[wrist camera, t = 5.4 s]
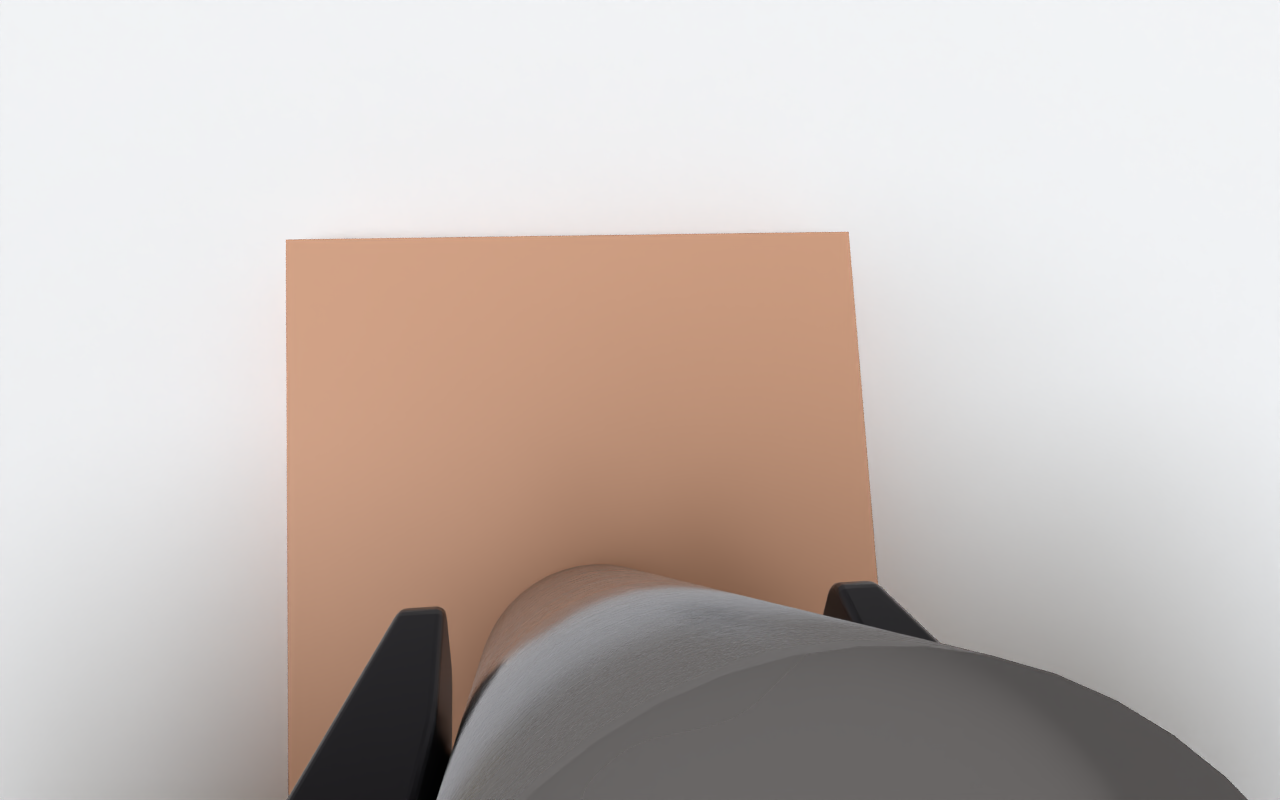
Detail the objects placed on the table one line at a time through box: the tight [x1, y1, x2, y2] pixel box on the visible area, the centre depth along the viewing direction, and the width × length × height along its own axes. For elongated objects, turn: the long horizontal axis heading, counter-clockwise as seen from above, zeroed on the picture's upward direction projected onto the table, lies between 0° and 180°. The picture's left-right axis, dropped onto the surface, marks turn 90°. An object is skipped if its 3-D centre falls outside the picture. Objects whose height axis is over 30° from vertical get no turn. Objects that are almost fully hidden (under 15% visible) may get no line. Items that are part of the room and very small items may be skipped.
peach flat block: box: [286, 232, 878, 796], centre depth 16 cm, size 14×9×2 cm, turn 3°
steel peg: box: [437, 564, 1247, 800], centre depth 9 cm, size 4×4×12 cm
